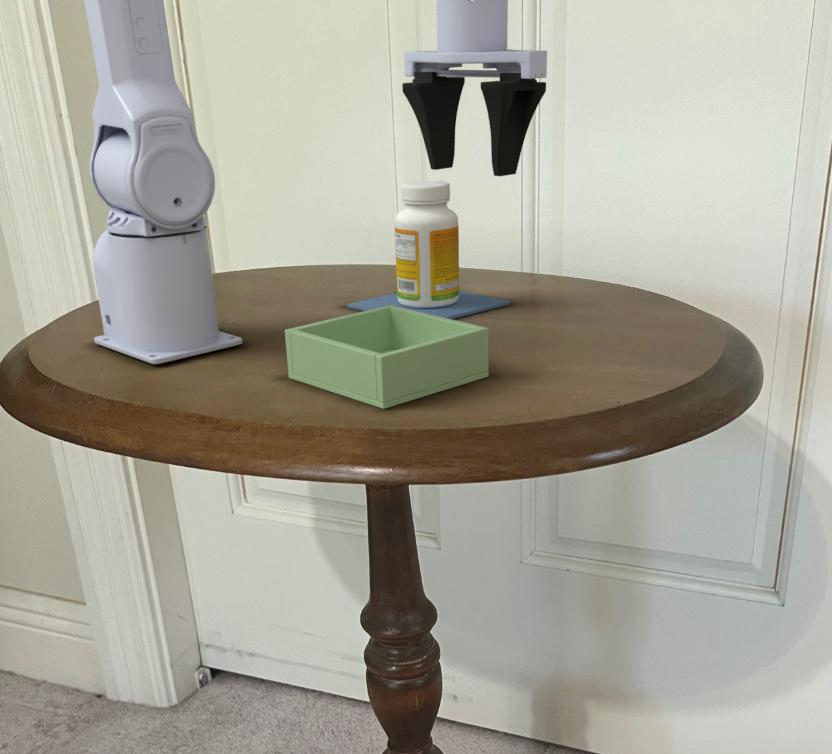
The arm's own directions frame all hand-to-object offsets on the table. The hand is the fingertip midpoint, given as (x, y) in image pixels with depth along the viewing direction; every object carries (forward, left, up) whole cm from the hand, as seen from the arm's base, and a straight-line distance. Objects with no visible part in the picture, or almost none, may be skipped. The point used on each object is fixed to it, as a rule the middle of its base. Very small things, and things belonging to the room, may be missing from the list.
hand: (472, 171), depth 93 cm
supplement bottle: (0, -6, -10) cm, 12 cm away
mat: (0, -6, -10) cm, 12 cm away
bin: (+14, -22, -10) cm, 28 cm away
